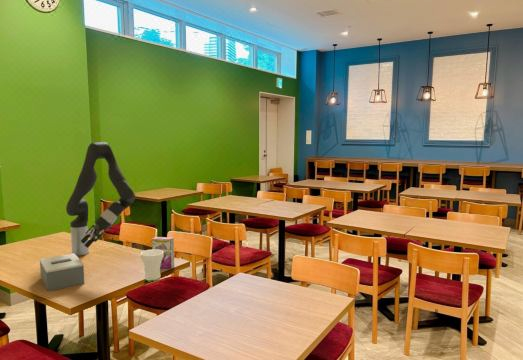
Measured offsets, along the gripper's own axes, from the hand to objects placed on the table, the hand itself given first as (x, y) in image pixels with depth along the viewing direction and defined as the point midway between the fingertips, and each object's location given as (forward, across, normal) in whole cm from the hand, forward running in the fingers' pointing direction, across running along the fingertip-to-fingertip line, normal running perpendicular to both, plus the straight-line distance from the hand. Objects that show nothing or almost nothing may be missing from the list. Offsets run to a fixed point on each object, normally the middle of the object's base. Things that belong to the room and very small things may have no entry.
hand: (83, 244), depth 196 cm
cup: (-6, +25, +31) cm, 40 cm away
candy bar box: (-15, +10, +39) cm, 43 cm away
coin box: (+20, 0, +4) cm, 20 cm away
